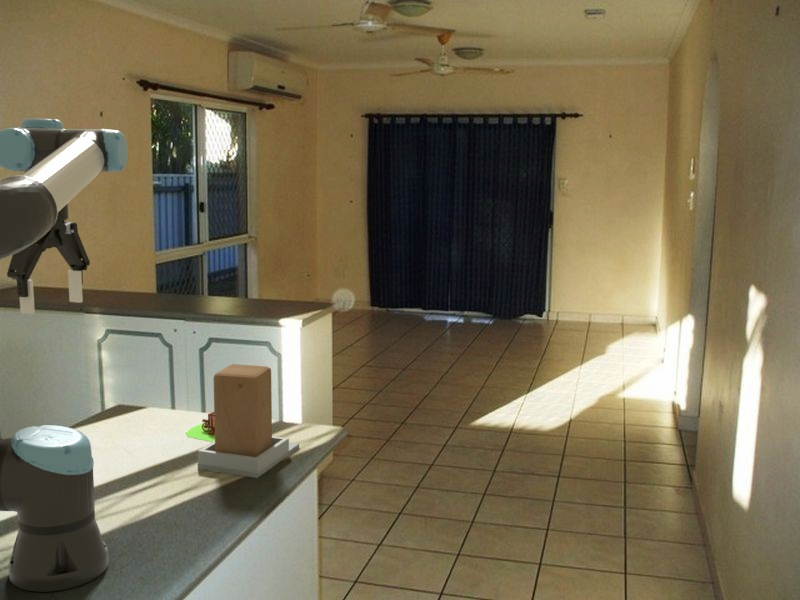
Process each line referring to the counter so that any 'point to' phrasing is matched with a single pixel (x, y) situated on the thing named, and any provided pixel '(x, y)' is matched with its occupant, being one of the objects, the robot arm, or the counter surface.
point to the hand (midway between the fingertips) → (52, 307)
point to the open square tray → (245, 459)
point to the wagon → (204, 429)
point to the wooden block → (243, 410)
